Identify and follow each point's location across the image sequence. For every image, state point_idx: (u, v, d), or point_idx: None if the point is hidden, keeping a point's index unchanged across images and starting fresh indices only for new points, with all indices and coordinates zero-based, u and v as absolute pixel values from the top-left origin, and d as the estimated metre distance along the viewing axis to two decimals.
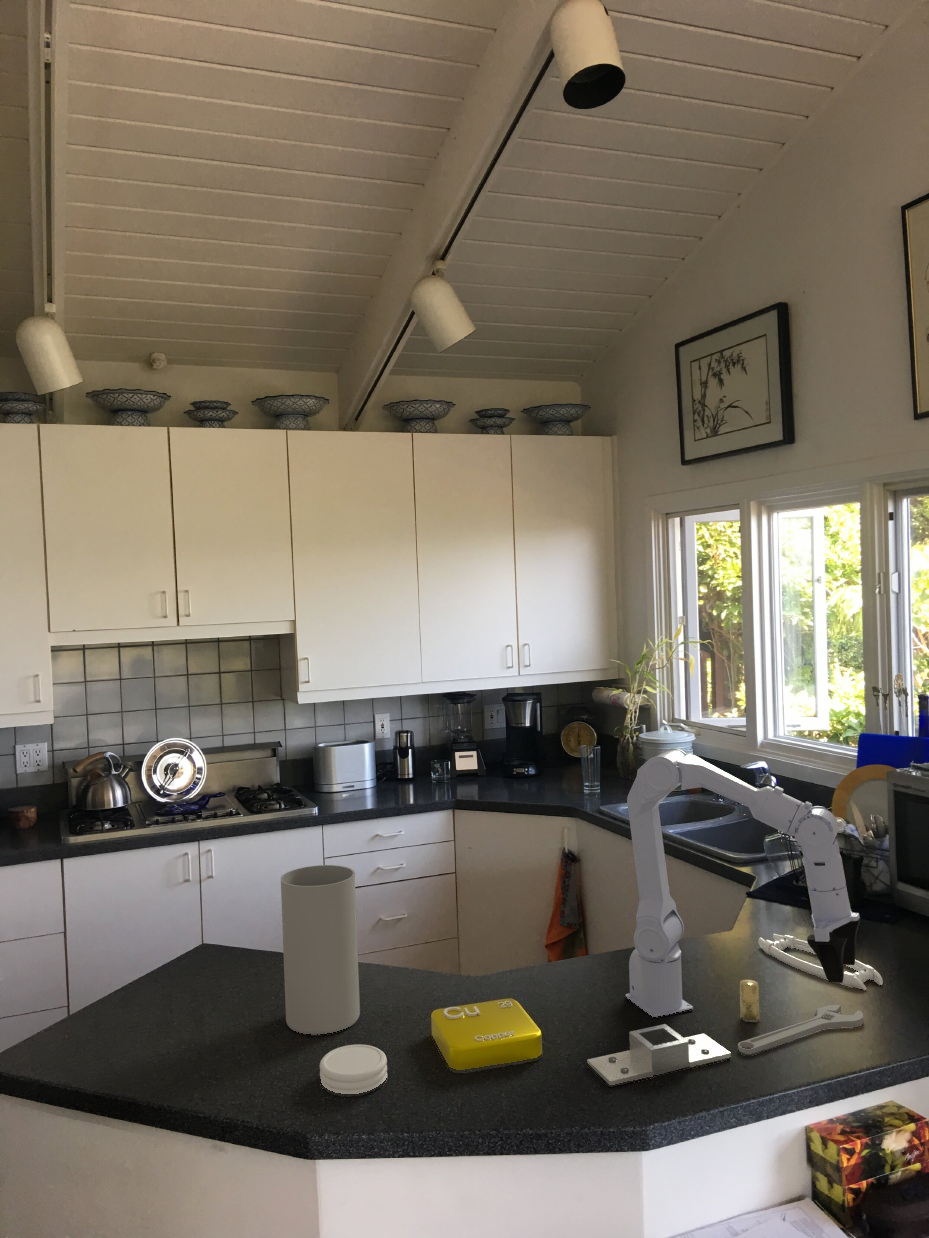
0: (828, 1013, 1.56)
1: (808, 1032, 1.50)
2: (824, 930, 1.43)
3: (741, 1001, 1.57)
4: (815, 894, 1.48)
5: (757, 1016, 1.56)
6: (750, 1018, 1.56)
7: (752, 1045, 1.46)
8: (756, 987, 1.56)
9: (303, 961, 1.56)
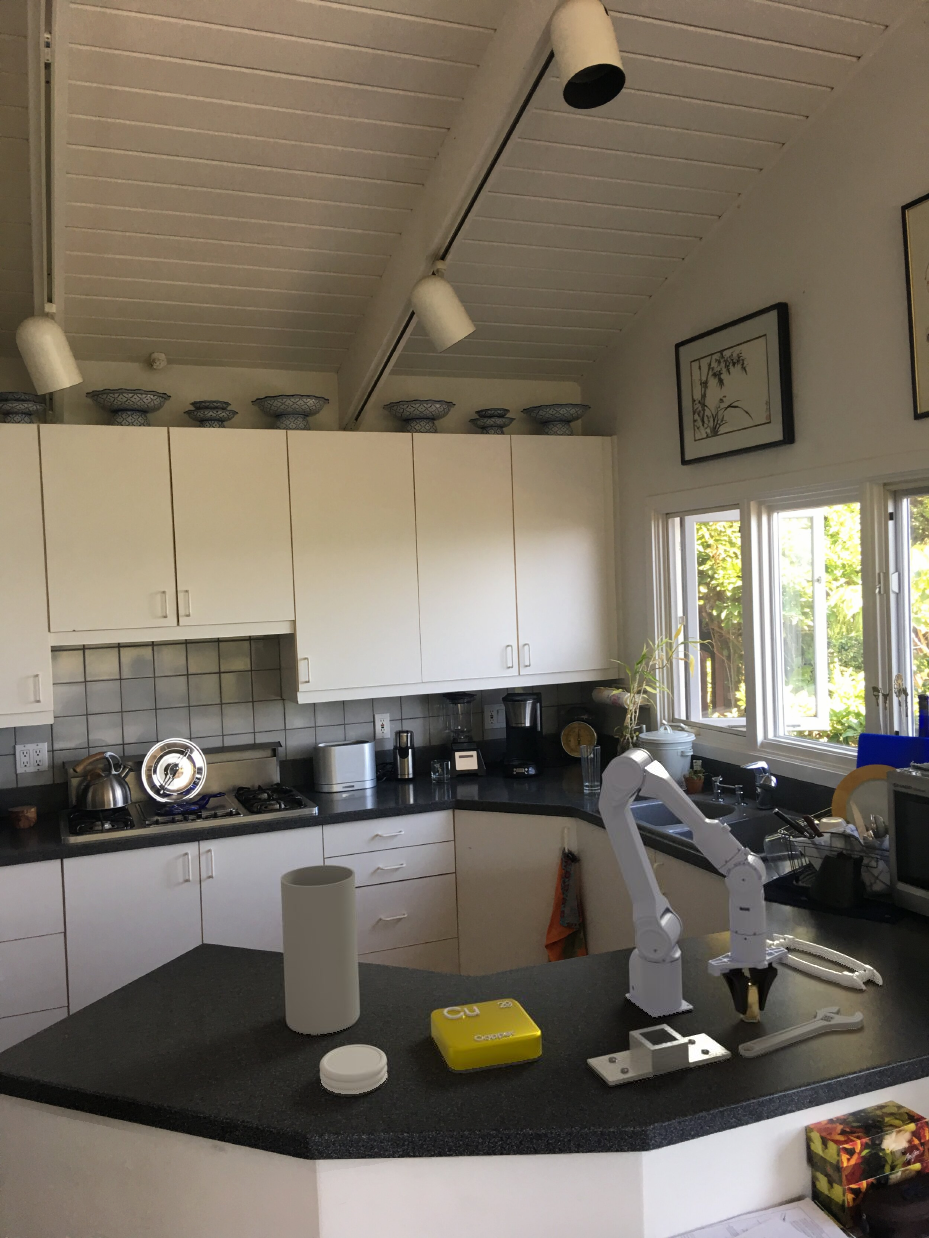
0: (828, 1015, 1.55)
1: (808, 1034, 1.50)
2: (713, 965, 1.54)
3: None
4: (730, 932, 1.57)
5: (757, 1016, 1.56)
6: (750, 1018, 1.56)
7: (753, 1048, 1.45)
8: (756, 987, 1.56)
9: (303, 961, 1.56)
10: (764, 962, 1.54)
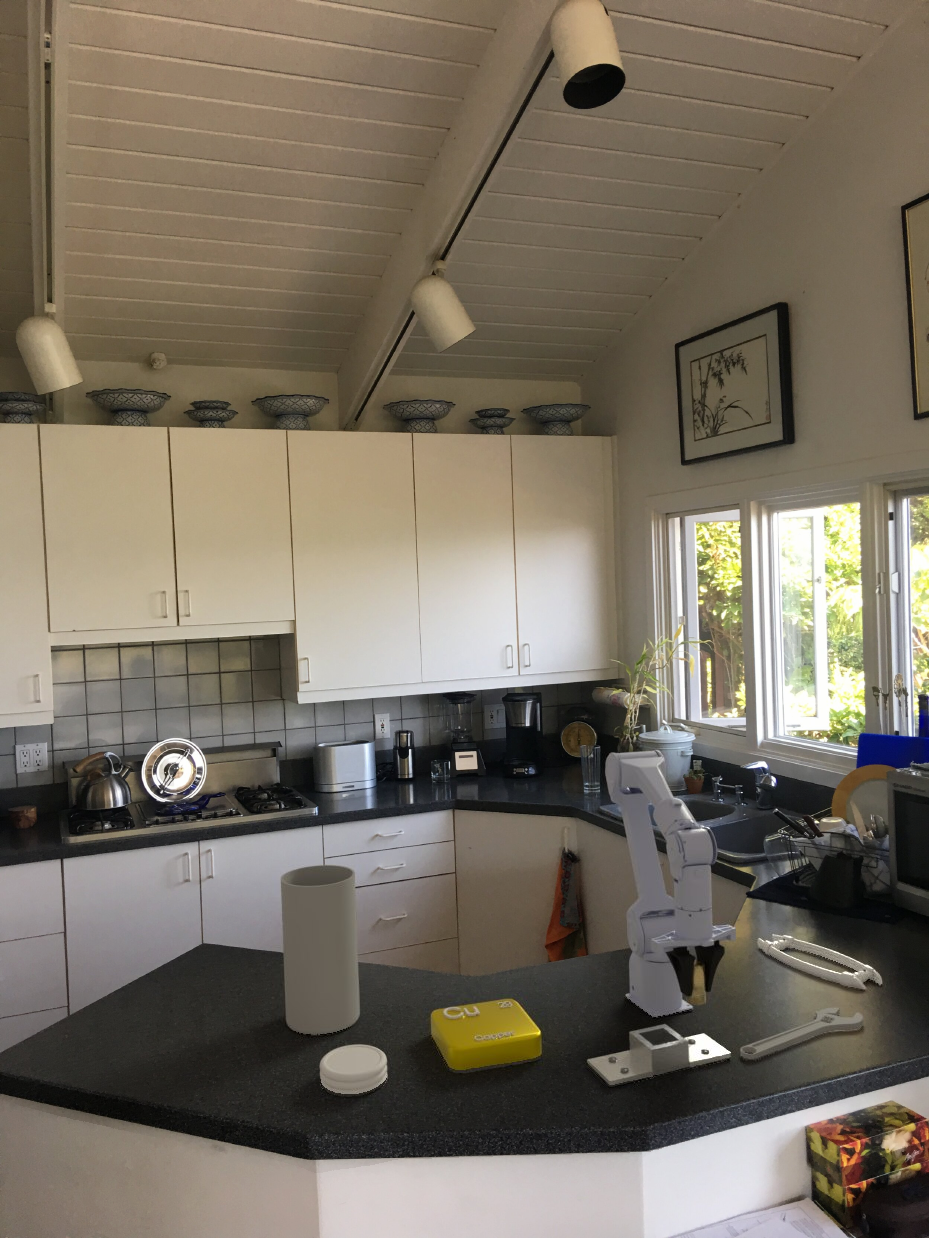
0: (828, 1016, 1.55)
1: (809, 1035, 1.49)
2: (656, 943, 1.45)
3: None
4: (674, 909, 1.48)
5: (703, 998, 1.47)
6: (695, 1000, 1.47)
7: (754, 1050, 1.45)
8: (701, 967, 1.47)
9: (303, 961, 1.56)
10: (710, 940, 1.45)
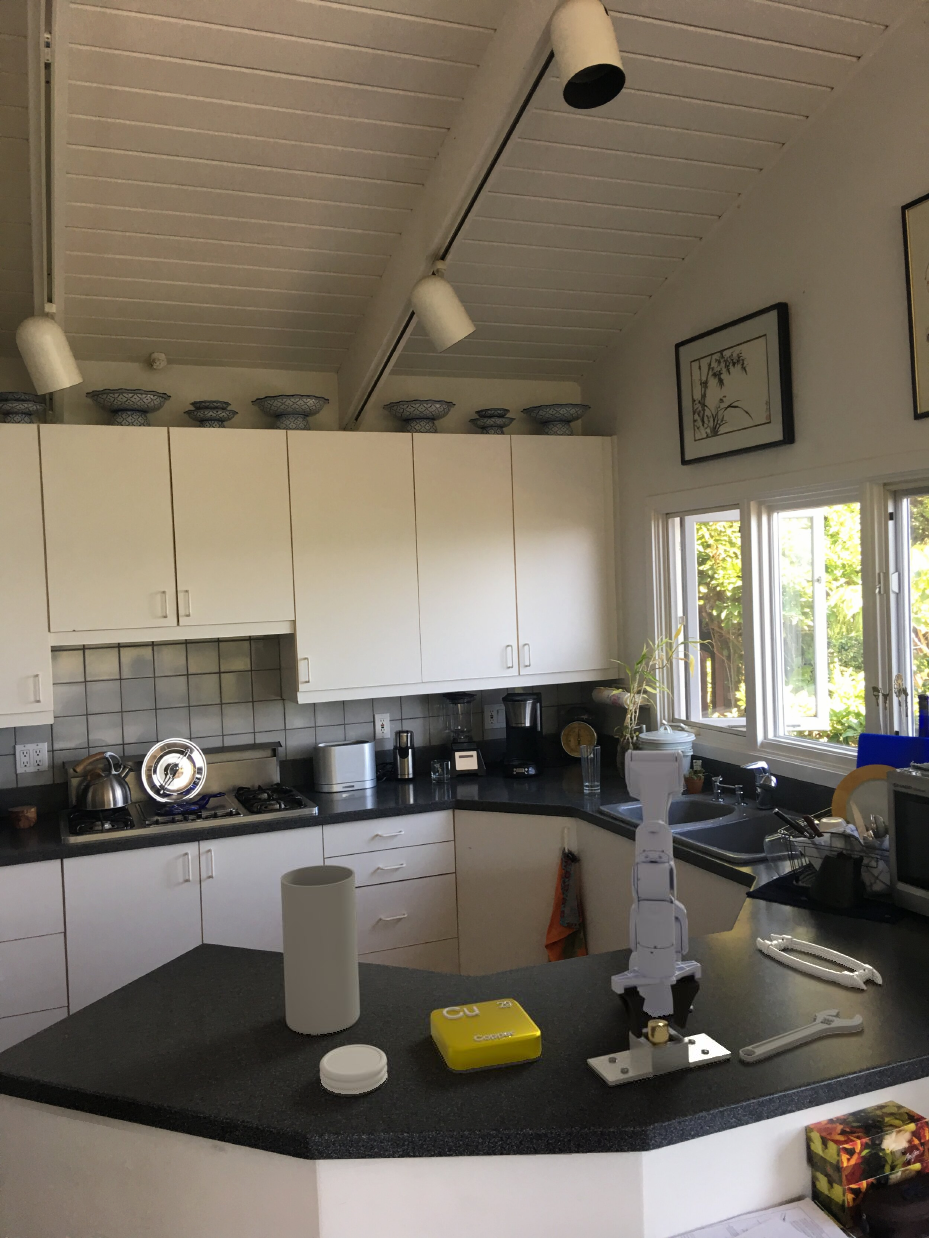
0: (827, 1018, 1.54)
1: (809, 1037, 1.49)
2: (616, 981, 1.40)
3: None
4: (636, 945, 1.43)
5: None
6: None
7: (754, 1052, 1.44)
8: (664, 1029, 1.42)
9: (303, 961, 1.56)
10: (672, 978, 1.40)
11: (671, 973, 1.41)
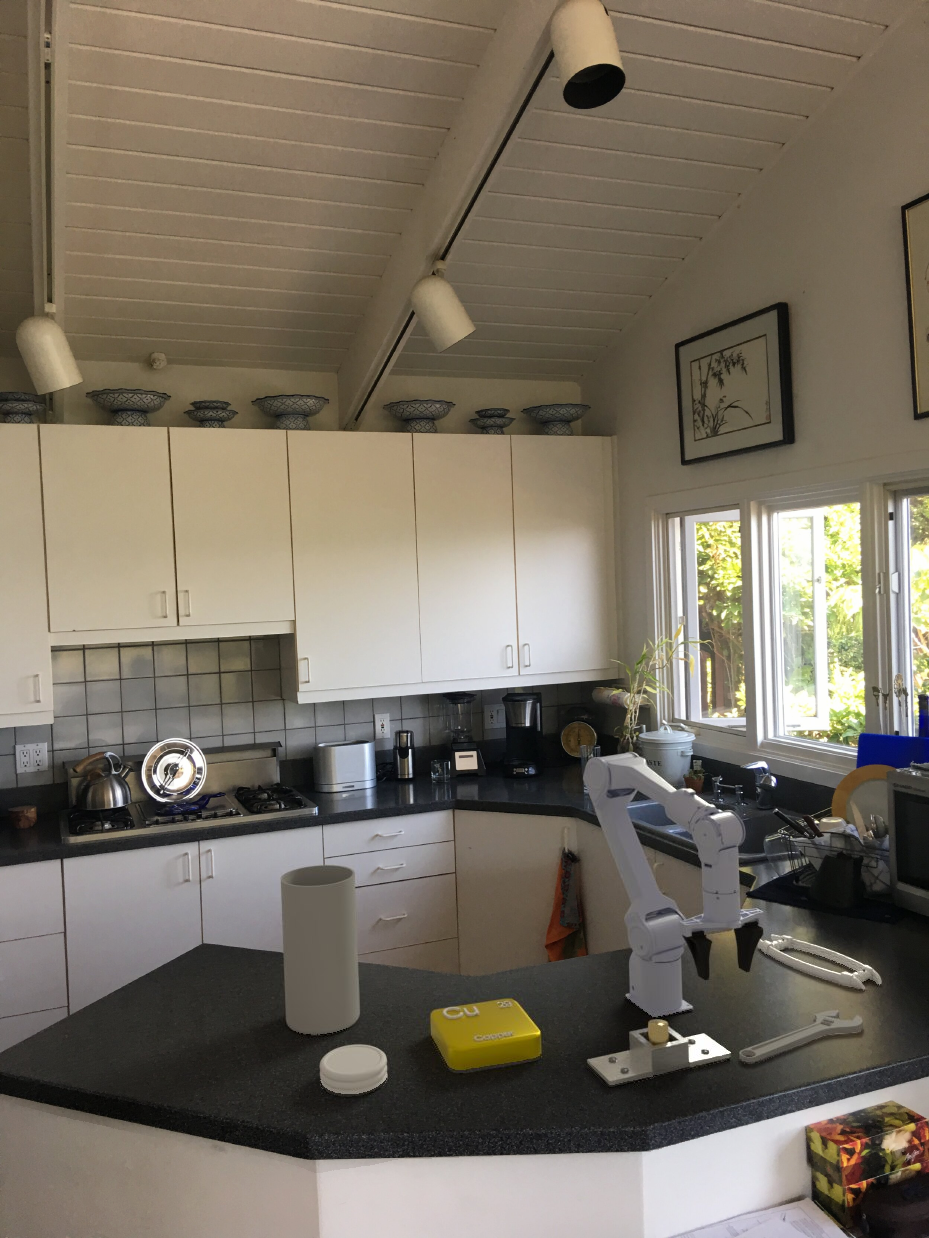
0: (827, 1019, 1.54)
1: (809, 1038, 1.48)
2: (684, 925, 1.48)
3: None
4: None
5: None
6: None
7: (754, 1053, 1.44)
8: (664, 1029, 1.42)
9: (303, 961, 1.56)
10: (737, 922, 1.48)
11: (736, 918, 1.48)
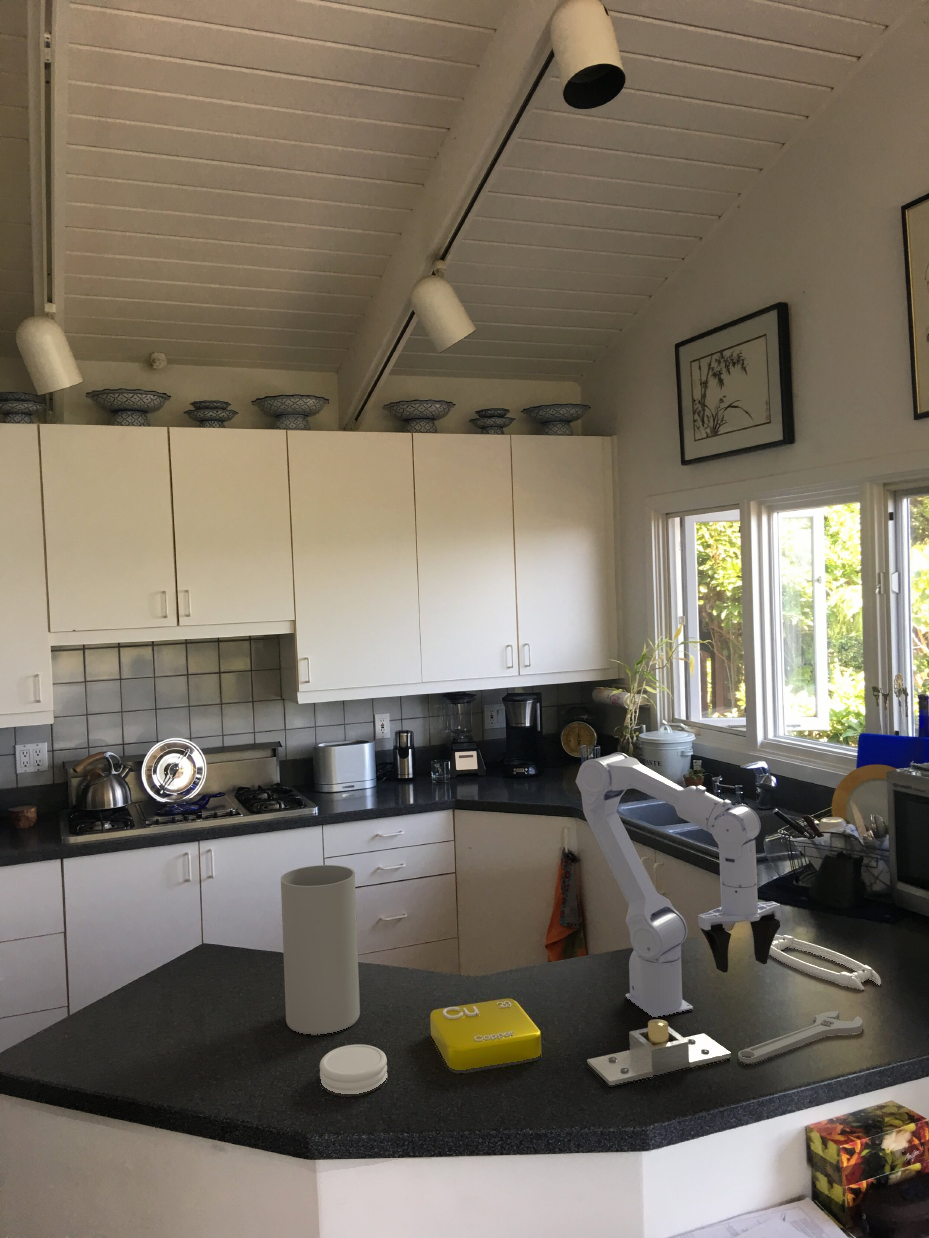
0: (827, 1020, 1.53)
1: (808, 1039, 1.48)
2: (704, 919, 1.50)
3: None
4: (720, 886, 1.53)
5: None
6: None
7: (752, 1054, 1.43)
8: (664, 1029, 1.42)
9: (303, 961, 1.56)
10: (756, 915, 1.50)
11: (754, 911, 1.51)
